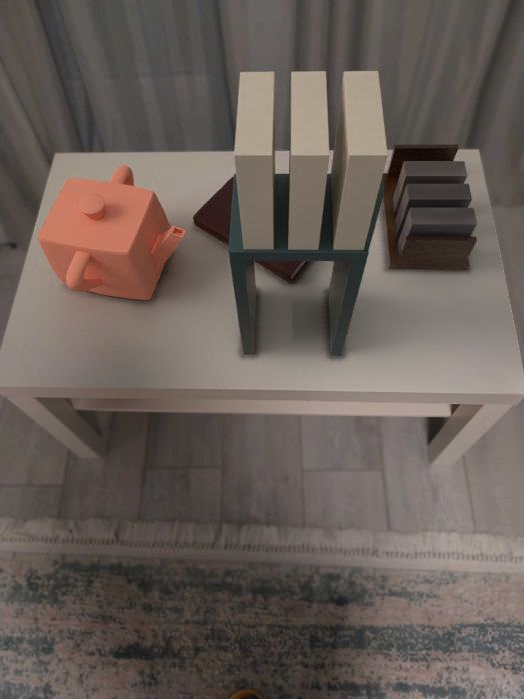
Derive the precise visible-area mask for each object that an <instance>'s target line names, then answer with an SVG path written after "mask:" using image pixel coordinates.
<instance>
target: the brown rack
mask: <svg viewBox="0 0 524 699" xmlns="http://www.w3.org/2000/svg"><path fill="white" fill-rule="evenodd" d="M458 151H459V144H453V143H452V144H450V143H449V144H394V145H393V149H392V152H391V156H390V160H389V164H388V168H387V171H386V172H383V185H384V195H383V199H382V203H381V204H382V211H383V222H384V232H385V242H386V251H387V260H388V261H387V262H388V269H389V270H468V269H469V268H470V260H469V256H470V254H471V253H472V251H473V249H474V248H475V246H476V244H477V242H478V237H477V236H472V235H473V233H474V232H475V229H476V227H477V225H478V222H477V217H476V216H477V215H476V212H475V208H474V207H470V204H471V202H472V201H473V197H472V191H471V187H470V183H466V180H467V178H468V171H467V168H466V162H465V160H455V158H456V156H457V153H458Z"/></svg>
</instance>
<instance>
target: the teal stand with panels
mask: <svg viewBox="0 0 524 699" xmlns="http://www.w3.org/2000/svg"><path fill="white" fill-rule="evenodd" d="M290 72H291V76H290V77H291V78H290V108H289V109H290V110H289V111H290V115H289V153H288V154H289V155H288V173H275V210H274V249H273V250H256V249H244V247H243V238H242V228H241V218H240V208H239V198H238V189H237V179H236V173H233V176H234V181H233V195H232V209H231V222H230V236H229V245H228V249H227V250H228V251H227V252H228V258H229V265H230V272H231V279H232V286H233V292H234V299H235V307H236V313H237V320H238V326H239V333H240V339H241V347H242V353H243V355H254V354H255V336H256V334H255V333H256V314H257V312H256V311H257V282H256V268H255V261H309V262H333V264H332V271H331V276H330V282H329V288H328V313H329V315H328V316H329V343H330V347H329V348H330V356H342V355H343V351H344V347H345V343H346V339H347V336H348V332H349V328H350V325H351V322H352V317H353V314H354V311H355V306H356V302H357V299H358V295H359V291H360V289H361V288H360V287H361V284H362V282H363V277H364V273H365V269H366V264H367V261H368V258H369V254H370V248H371V243H372V239H373V236H374V233H375V229H376V226H377V221H378V217H379V214H380V210H381V206H382V204H383V203H382V199H383V195H384V185H383V173H385V167H386V163H387V159H388V155H389V154H388V146H387V144H388V143H387V137H386V128H385V117H384V109H383V100H382V92H381V84H380V73H379V70H344V71H343V72H342V81H341V87H340V88H341V89H340V97H339V103H338V104H339V105H338V112H337V121H336V129H335V136H334V145H333V152H332V159H331V166H330V167H331V169H330V173H328V171H329V164H330V163H329V162H330V132H329V131H330V130H329V111H328V110H329V109H328V85H327V82H328V81H327V71H326V70H325V71H324V70H319V71H317V70H316V71H314V70H313V71H309V70H308V71H306V70H305V71H290Z"/></svg>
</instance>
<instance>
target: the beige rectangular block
mask: <svg viewBox="0 0 524 699" xmlns="http://www.w3.org/2000/svg"><path fill="white" fill-rule="evenodd" d="M275 75H276V74H275V71H240V72H239V84H238V98H237V99H238V100H237V110H236V122H235V123H236V124H235V135H234V136H235V138H234V150H233V151H234V153H233V159H234V168H235V174H236V179H237V189H238V198H239V208H240V218H241V228H242V238H243V247H244V249H256V250H273V249H274V210H275V174H276V88H275V87H276V85H275V84H276V83H275V82H276V78H275V77H276V76H275Z"/></svg>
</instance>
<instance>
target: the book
mask: <svg viewBox="0 0 524 699" xmlns="http://www.w3.org/2000/svg"><path fill="white" fill-rule="evenodd" d="M233 181H234V175H233V176H231V177H230V178H229V179H228V180H227V181H226V182H225V183H224V184H223V185H222V186H221V188H220V189H218V190H217V191H216V192H215V193H214V194H213V195H212V196H211V197H210V198H209V199H208V200H207V201H206V202H205V203H204V204H203V205H201V207H200V208H199V209H198V210H197V211H196V212H195V214H194V215H193V216H192V221H193V223H194V225H195V226H196V227H197V228H199V229H201V230H203V231H204V232H206V233H208V234H210V235H211V236H213V237H215V238H216V239H218V240H219V241H221V242H223V243H224V244H226V245H228V246H229V236H230V222H231V209H232V195H233ZM254 263H257V264H259V265H260V266H262V267H263V268H265V269H266V270H269V271H270V272H272V273H273V274H274V275H275V276H278V277H279V278H281V279H282V280H284V281H285V282H287V283H293V281H294V280H296V278H297V277H298V276H299V274H300V273H301V272H302V271H303V270H304V268H305V267H306V266H307V264H309V263H310V261H254Z"/></svg>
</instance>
